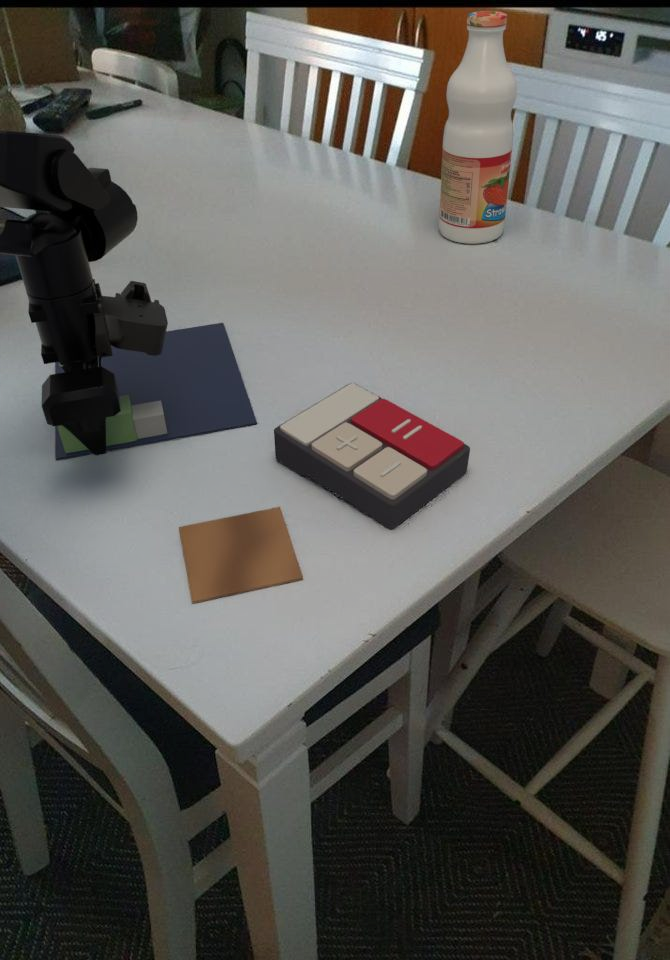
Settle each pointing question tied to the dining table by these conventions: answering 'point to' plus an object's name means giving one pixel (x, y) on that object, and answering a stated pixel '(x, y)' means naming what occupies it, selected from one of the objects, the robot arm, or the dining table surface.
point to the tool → (124, 425)
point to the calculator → (371, 453)
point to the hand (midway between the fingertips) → (98, 429)
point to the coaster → (238, 554)
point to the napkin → (181, 385)
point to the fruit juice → (478, 136)
